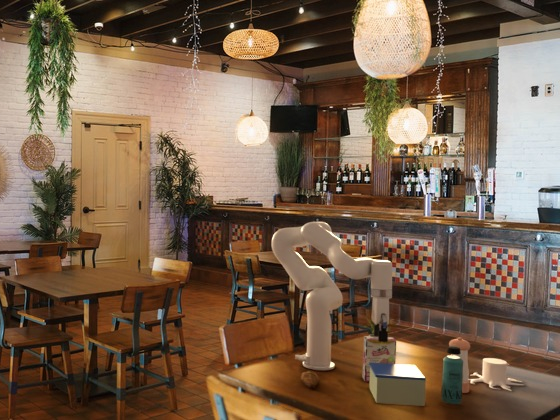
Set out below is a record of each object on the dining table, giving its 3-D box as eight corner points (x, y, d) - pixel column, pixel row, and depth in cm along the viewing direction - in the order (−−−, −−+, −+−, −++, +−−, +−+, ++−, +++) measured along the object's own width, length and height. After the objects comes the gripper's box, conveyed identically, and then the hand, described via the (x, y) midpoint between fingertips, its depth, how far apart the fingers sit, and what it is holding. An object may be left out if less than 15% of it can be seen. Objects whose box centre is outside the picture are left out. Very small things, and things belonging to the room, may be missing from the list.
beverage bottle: (437, 402, 221) (439, 344, 220) (455, 401, 222) (457, 344, 221) (447, 408, 215) (449, 349, 214) (466, 408, 215) (468, 349, 215)
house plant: (390, 356, 279) (391, 319, 278) (357, 351, 286) (359, 315, 285) (397, 349, 291) (398, 313, 290) (365, 344, 298) (366, 309, 297)
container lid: (375, 377, 219) (375, 375, 219) (368, 364, 235) (368, 362, 235) (425, 380, 217) (425, 377, 217) (415, 367, 232) (415, 364, 232)
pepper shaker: (473, 392, 232) (475, 340, 231) (453, 393, 231) (455, 340, 230) (462, 386, 239) (464, 335, 238) (443, 386, 238) (445, 335, 237)
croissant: (298, 377, 247) (298, 364, 247) (316, 378, 246) (316, 365, 246) (302, 389, 233) (302, 375, 233) (321, 390, 233) (321, 376, 233)
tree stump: (534, 385, 242) (535, 363, 241) (503, 393, 232) (504, 371, 231) (483, 371, 259) (484, 351, 258) (453, 378, 249) (454, 357, 248)
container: (376, 403, 220) (377, 377, 219) (369, 388, 235) (370, 364, 235) (424, 406, 217) (425, 380, 217) (414, 391, 233) (415, 367, 232)
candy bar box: (364, 382, 242) (366, 339, 242) (361, 378, 247) (363, 335, 247) (395, 383, 241) (396, 340, 241) (392, 379, 246) (393, 336, 246)
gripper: (367, 289, 252) (366, 333, 253) (374, 296, 235) (374, 343, 235) (387, 290, 251) (387, 333, 251) (396, 297, 234) (395, 344, 234)
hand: (380, 338), depth 243 cm, fingers open, 9 cm apart
